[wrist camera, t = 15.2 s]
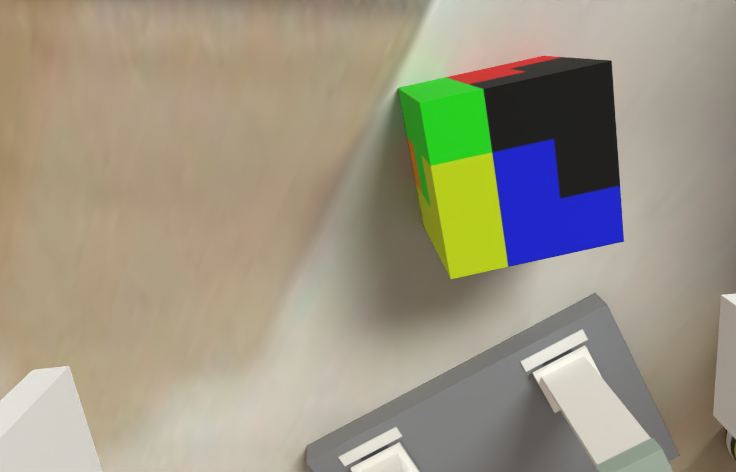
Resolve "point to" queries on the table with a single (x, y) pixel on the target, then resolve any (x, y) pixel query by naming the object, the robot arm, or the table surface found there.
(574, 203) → the puzzle toy
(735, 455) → the pill bottle
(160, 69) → the table surface
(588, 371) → the lever
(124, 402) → the table surface
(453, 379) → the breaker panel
